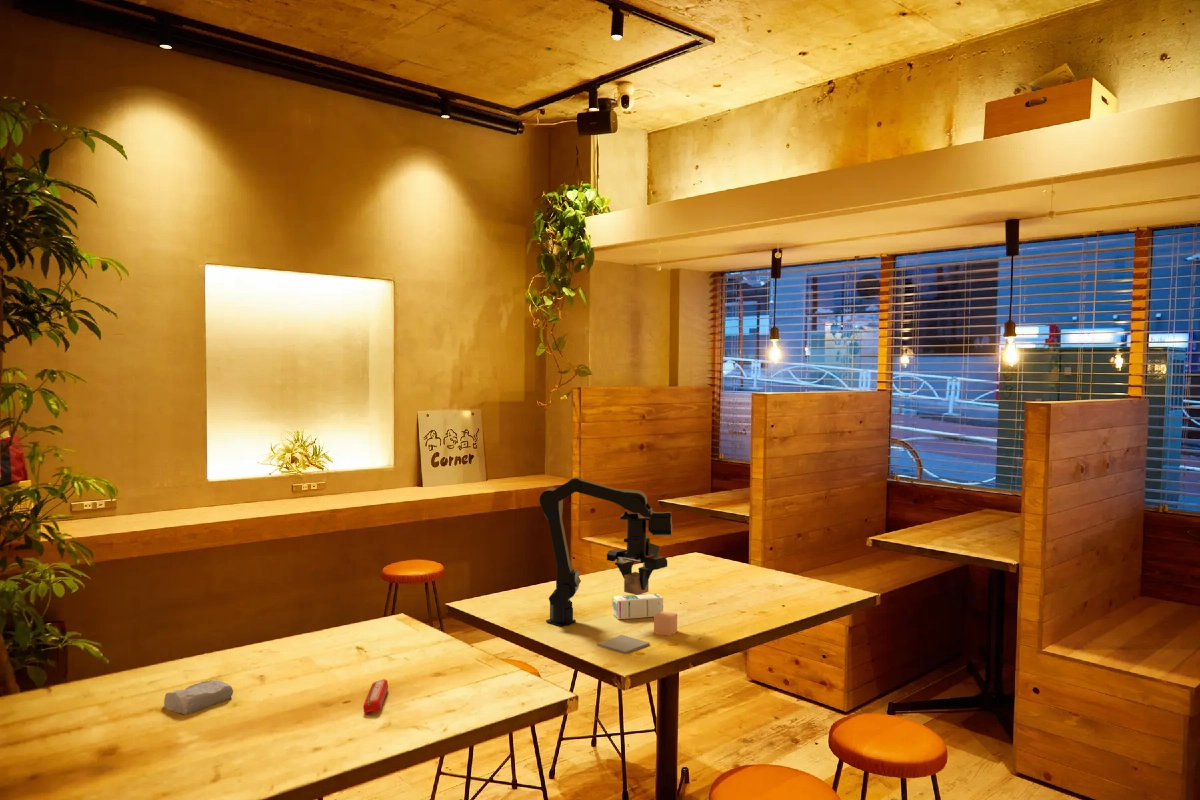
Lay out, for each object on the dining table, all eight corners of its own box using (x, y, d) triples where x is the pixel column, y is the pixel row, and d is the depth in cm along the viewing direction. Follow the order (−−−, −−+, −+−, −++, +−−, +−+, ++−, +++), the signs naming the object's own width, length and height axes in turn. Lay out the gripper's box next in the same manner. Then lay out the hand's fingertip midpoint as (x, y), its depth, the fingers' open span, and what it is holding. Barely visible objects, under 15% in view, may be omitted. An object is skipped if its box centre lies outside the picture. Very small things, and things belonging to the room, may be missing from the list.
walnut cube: (624, 591, 237) (624, 574, 237) (635, 588, 240) (635, 571, 240) (637, 595, 233) (637, 577, 233) (648, 591, 237) (648, 574, 237)
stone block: (159, 716, 177) (185, 716, 172) (157, 693, 178) (183, 693, 173) (210, 700, 188) (236, 700, 182) (208, 678, 188) (234, 678, 183)
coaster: (597, 645, 219) (597, 643, 219) (621, 636, 227) (621, 634, 227) (625, 654, 213) (625, 651, 213) (649, 644, 220) (649, 642, 220)
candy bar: (373, 689, 189) (373, 676, 188) (389, 688, 189) (389, 676, 189) (361, 718, 173) (361, 704, 173) (379, 717, 173) (379, 703, 173)
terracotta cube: (653, 633, 230) (653, 615, 230) (660, 628, 235) (661, 611, 235) (670, 635, 228) (670, 618, 228) (677, 631, 233) (677, 613, 232)
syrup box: (663, 597, 246) (617, 599, 243) (663, 616, 246) (616, 619, 243) (657, 593, 252) (612, 595, 248) (657, 612, 252) (611, 614, 248)
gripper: (679, 535, 236) (678, 588, 236) (630, 527, 249) (629, 578, 249) (655, 540, 228) (654, 596, 228) (605, 532, 241) (605, 584, 241)
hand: (636, 588), depth 237 cm, fingers closed on walnut cube, 5 cm apart
